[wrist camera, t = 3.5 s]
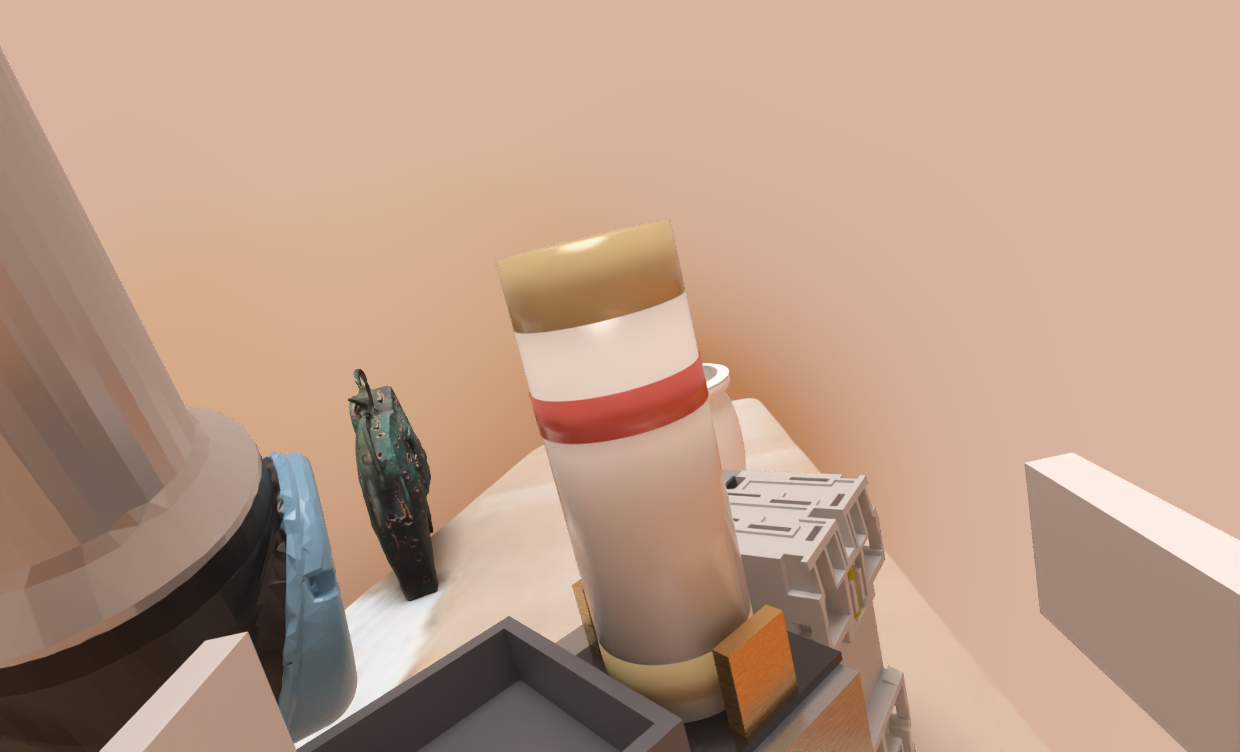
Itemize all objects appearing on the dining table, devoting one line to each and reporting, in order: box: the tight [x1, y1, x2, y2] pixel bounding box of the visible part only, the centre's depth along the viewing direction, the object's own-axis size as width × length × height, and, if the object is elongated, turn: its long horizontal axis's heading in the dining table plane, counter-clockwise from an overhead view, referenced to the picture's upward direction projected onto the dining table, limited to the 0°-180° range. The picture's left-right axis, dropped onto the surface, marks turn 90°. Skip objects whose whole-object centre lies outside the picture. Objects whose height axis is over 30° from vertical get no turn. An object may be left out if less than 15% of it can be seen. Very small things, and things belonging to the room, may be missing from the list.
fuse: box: [495, 219, 753, 723], centre depth 21 cm, size 5×5×14 cm
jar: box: [703, 363, 746, 471], centre depth 57 cm, size 11×10×15 cm
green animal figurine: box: [348, 369, 438, 601], centre depth 69 cm, size 20×6×20 cm, turn 18°
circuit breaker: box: [723, 470, 915, 752], centre depth 34 cm, size 8×14×15 cm, turn 55°
